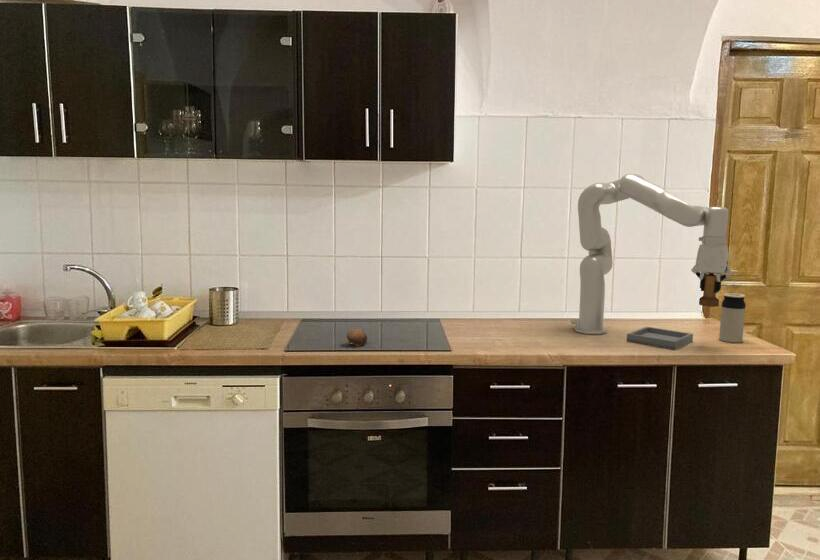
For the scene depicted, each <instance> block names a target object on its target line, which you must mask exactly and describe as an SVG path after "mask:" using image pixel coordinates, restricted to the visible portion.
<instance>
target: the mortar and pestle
mask: <svg viewBox="0 0 820 560" xmlns="http://www.w3.org/2000/svg"><path fill="white" fill-rule="evenodd" d="M716 280H717V277H716V274H715V273H707V274H706V275H705V286H704V291H703V296H701V297H699V301H698V304H699V306H702V307H709V308H716V307H717V308H718V307H719V305H720V299H719V298H718V297H716V295H717V293H715V292H714V289H715V282H716Z"/></svg>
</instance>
